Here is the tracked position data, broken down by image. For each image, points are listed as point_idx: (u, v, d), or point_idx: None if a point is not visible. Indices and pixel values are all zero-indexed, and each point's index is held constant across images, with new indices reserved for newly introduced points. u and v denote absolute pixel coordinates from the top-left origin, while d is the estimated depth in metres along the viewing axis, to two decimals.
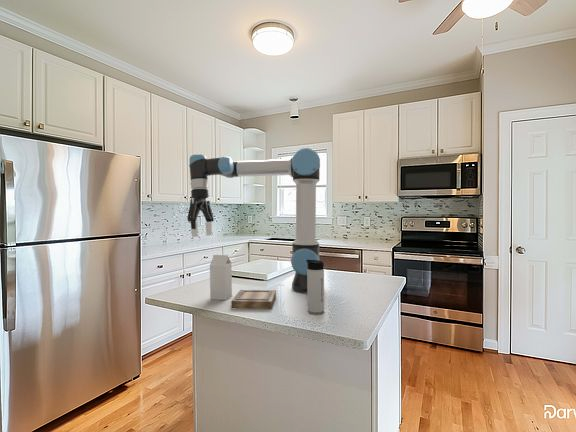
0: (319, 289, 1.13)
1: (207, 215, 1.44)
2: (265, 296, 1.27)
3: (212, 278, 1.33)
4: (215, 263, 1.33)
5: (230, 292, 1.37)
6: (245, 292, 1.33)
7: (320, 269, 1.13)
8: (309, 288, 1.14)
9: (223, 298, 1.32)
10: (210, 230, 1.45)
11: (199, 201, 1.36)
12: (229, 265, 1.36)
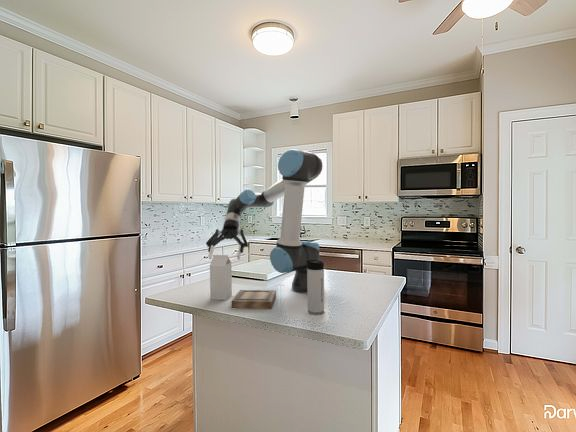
0: (319, 289, 1.13)
1: (237, 241, 1.49)
2: (265, 296, 1.27)
3: (212, 278, 1.33)
4: (215, 263, 1.33)
5: (230, 292, 1.37)
6: (245, 292, 1.33)
7: (320, 269, 1.13)
8: (309, 288, 1.14)
9: (223, 298, 1.32)
10: (238, 252, 1.44)
11: (223, 231, 1.54)
12: (229, 265, 1.36)
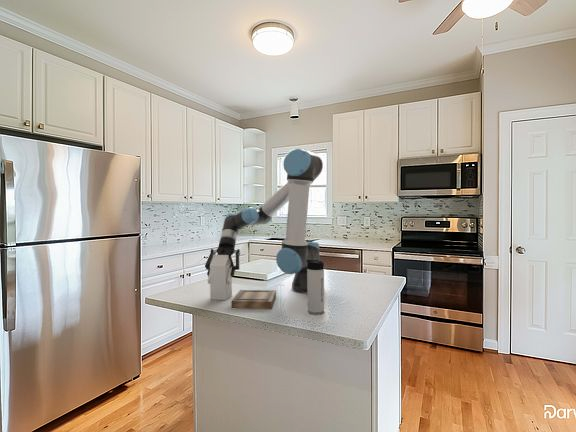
0: (319, 289, 1.13)
1: (230, 262, 1.39)
2: (265, 296, 1.27)
3: (212, 278, 1.33)
4: (215, 263, 1.33)
5: (230, 292, 1.37)
6: (245, 292, 1.33)
7: (320, 269, 1.13)
8: (309, 288, 1.14)
9: (223, 298, 1.32)
10: (228, 276, 1.33)
11: (219, 249, 1.43)
12: (229, 265, 1.36)
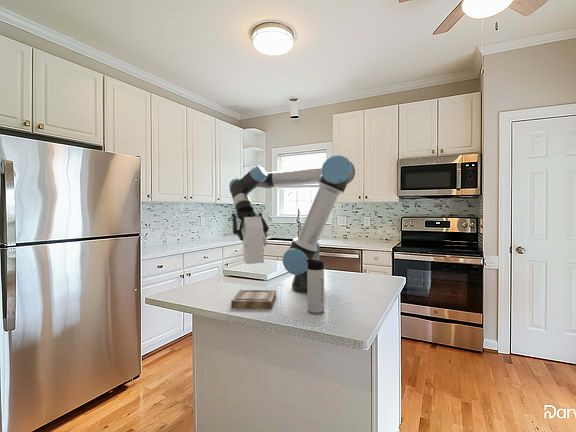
0: (319, 289, 1.13)
1: None
2: (265, 296, 1.27)
3: (249, 240, 1.24)
4: (251, 225, 1.25)
5: None
6: (245, 292, 1.33)
7: (320, 269, 1.13)
8: (309, 288, 1.14)
9: (261, 261, 1.26)
10: (264, 238, 1.28)
11: (240, 213, 1.34)
12: None
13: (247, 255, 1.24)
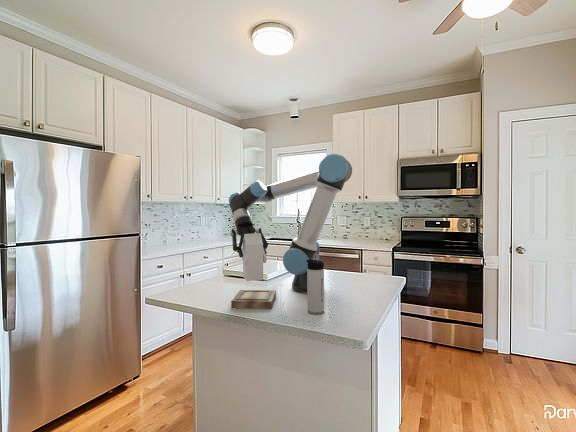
0: (319, 289, 1.13)
1: None
2: (265, 296, 1.27)
3: (249, 258, 1.24)
4: (251, 242, 1.25)
5: None
6: (245, 292, 1.33)
7: (320, 269, 1.13)
8: (309, 288, 1.14)
9: (260, 278, 1.26)
10: (263, 255, 1.28)
11: (240, 229, 1.34)
12: None
13: (247, 272, 1.24)
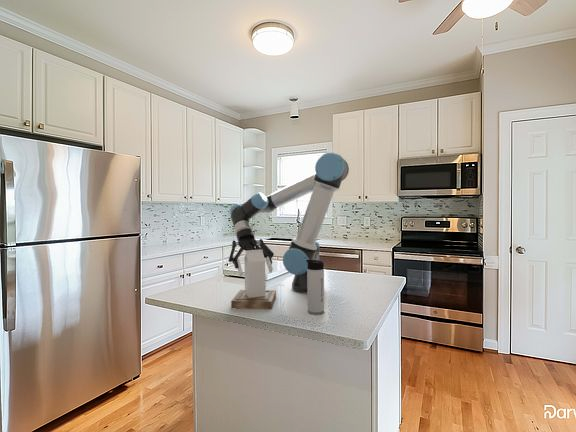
0: (319, 289, 1.13)
1: None
2: (265, 296, 1.27)
3: (251, 274, 1.24)
4: (253, 259, 1.25)
5: None
6: None
7: (320, 269, 1.13)
8: (309, 288, 1.14)
9: (263, 294, 1.26)
10: (269, 265, 1.30)
11: (241, 241, 1.34)
12: None
13: (249, 289, 1.24)
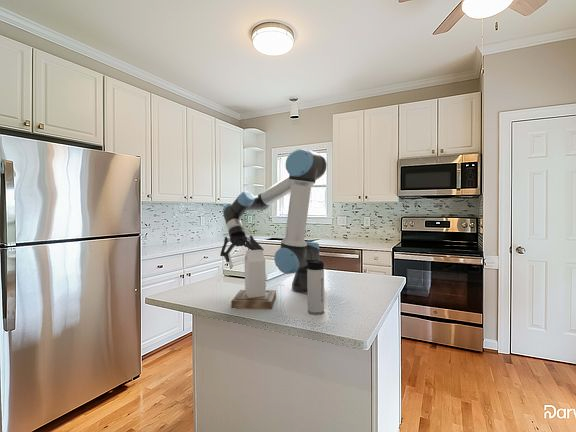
0: (319, 289, 1.13)
1: (251, 247, 1.46)
2: (265, 296, 1.27)
3: (251, 274, 1.24)
4: (253, 259, 1.25)
5: None
6: None
7: (320, 269, 1.13)
8: (309, 288, 1.14)
9: (263, 294, 1.26)
10: None
11: (233, 238, 1.46)
12: None
13: (249, 289, 1.24)
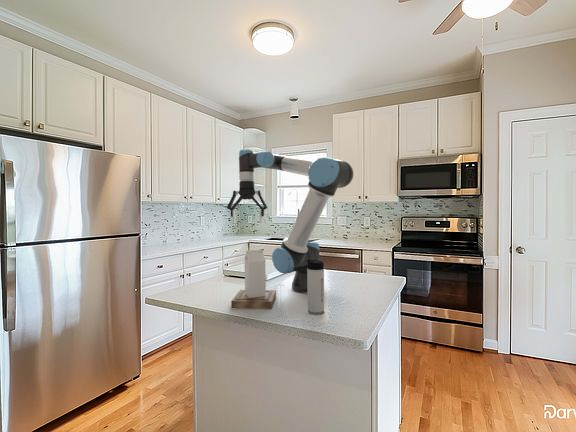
0: (319, 289, 1.13)
1: (257, 204, 1.54)
2: (265, 296, 1.27)
3: (251, 274, 1.24)
4: (253, 259, 1.25)
5: None
6: None
7: (320, 269, 1.13)
8: (309, 288, 1.14)
9: (263, 294, 1.26)
10: None
11: (240, 192, 1.54)
12: None
13: (249, 289, 1.24)
